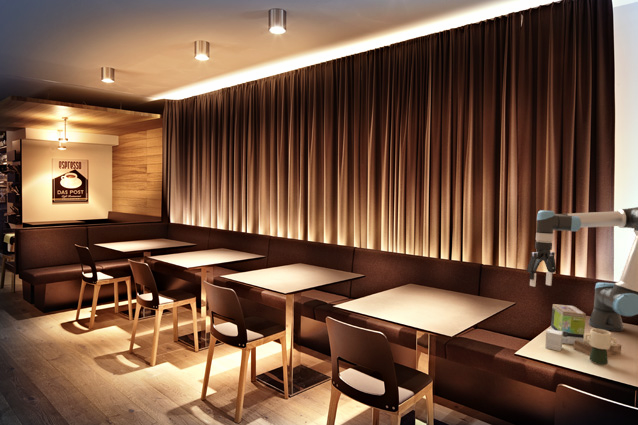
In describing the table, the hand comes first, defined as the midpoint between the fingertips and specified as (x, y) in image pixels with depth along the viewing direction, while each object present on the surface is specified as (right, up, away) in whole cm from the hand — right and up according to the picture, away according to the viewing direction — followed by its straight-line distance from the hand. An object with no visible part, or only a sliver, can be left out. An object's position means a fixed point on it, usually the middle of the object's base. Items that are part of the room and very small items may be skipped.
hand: (540, 285), depth 220 cm
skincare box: (-8, -23, -26) cm, 36 cm away
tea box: (+5, -23, -13) cm, 27 cm away
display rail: (+10, -24, -29) cm, 39 cm away
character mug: (+2, -25, -42) cm, 48 cm away
